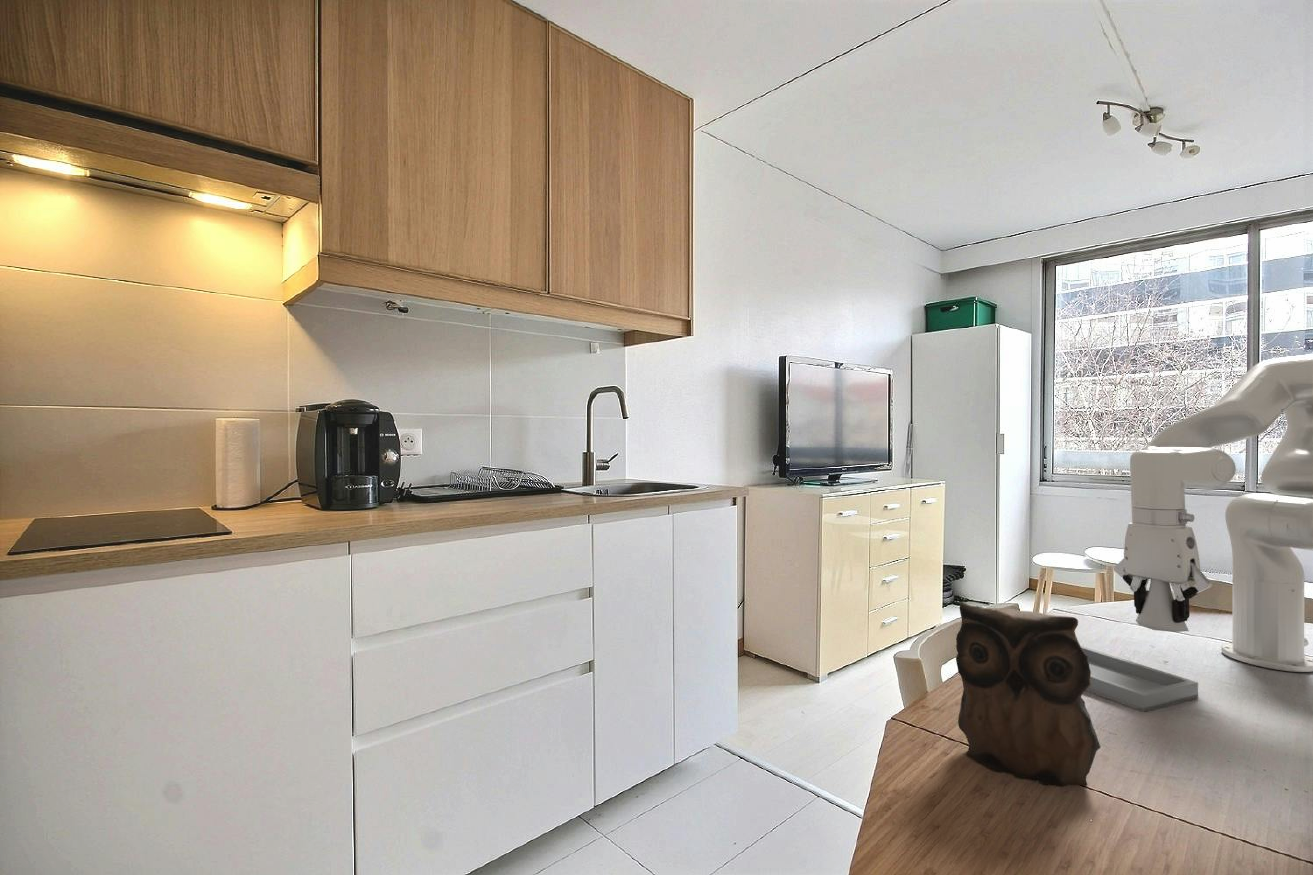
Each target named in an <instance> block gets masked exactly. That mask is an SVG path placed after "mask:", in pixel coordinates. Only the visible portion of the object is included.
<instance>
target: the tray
mask: <svg viewBox="0 0 1313 875" xmlns="http://www.w3.org/2000/svg"><path fill="white" fill-rule="evenodd" d="M1080 646H1081V648H1082V650H1083V652H1084V653H1085V654H1086V655H1087V656H1088V663H1089V667H1090V670H1091V676H1090V683H1091V685H1090V686H1089V687H1088V688H1087V689H1086V690H1085V691H1087V692H1089V693H1093V694H1095V695H1097V696H1101V697H1103V698H1106V699H1108V700H1110V701H1111V700H1112V701H1114V702H1116V703H1119V704H1122V705H1124V706H1126V707H1130V708H1133V709H1135V710H1138V711H1140V712H1143V713H1146V712H1150V711H1153V710H1157V709H1161V708H1165V707H1169V706H1173V705H1176V704H1177V705H1178V704H1179V703H1183V702H1187V701H1192V700H1196V699H1198V698H1199V682H1198V681H1194V680H1191V679H1189V678H1185V677H1182V676H1178V675H1176V674H1173V673H1172V674H1171V673H1170V672H1166V671H1163V670H1159V669H1156V668H1153V667H1149V666H1147V665H1144V664H1140V663H1137V662H1133V661H1130V660H1127V659H1124V658H1121V657H1117V656H1115V655H1111V654H1108V653H1105V652H1101V651H1098V650H1095V649H1092V648H1090V647H1089V648H1088V647H1085V646H1082V645H1080Z"/></svg>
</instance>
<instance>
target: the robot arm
mask: <svg viewBox="0 0 1313 875" xmlns="http://www.w3.org/2000/svg"><path fill="white" fill-rule="evenodd" d="M1283 413H1284V416H1285V419H1286V423H1287V424H1286V425H1287V426H1286V430H1285V431H1284V432H1285V433H1284V434H1283V436H1282V438H1281V439H1280V441H1279V443H1278V445H1277V446H1276V447H1275V449H1274V451H1273V452H1272V454H1271V456H1270V457H1269V459H1268V460H1267V462H1266V464H1265V465H1264V468H1263V470H1262V473H1261V476H1260V481H1261V485H1262V486H1263V488H1264V489H1265V490H1266V491H1267V492H1270V493H1263V492H1260V493H1259V492H1258V493H1256V492H1255V493H1253V492H1252V493H1245V494H1241V495H1239V496H1237V497H1235V498H1233V499H1232V500H1231V501H1229V503H1228V504H1227V506H1226V509H1225V514H1224V516H1225V523H1226V528H1227V531H1228V534H1229V539H1230V545H1231V554H1232V630H1231V631H1232V633H1231V634H1232V635H1231V636H1232V639H1231V640H1232V642H1230V643H1225V644H1222V645H1221V652H1222V653H1223V654H1224V655H1225V656H1227V657H1229V658H1231V659H1233V660H1236V661H1239V662H1242V663H1245V664H1249V665H1252V666H1256V667H1261V668H1266V669H1271V670H1277V671H1285V672H1292V673H1294V672H1295V673H1312V672H1313V659H1312V658H1310V657H1308V656H1306V655H1305V647H1307V646H1308V645H1309V640H1308V639H1307V638H1305V579H1306V578H1305V570H1304V567H1303V564H1302V563H1301V561H1300V559H1299V558H1298V556H1297V555H1296V553H1295V552H1294V551H1293V550H1292V549H1300V550H1307V551H1313V353H1311V354H1303V355H1295V356H1285V357H1278V358H1277V357H1276V358H1271V359H1265V360H1263V361H1260V362H1258V363H1256V364H1255V365H1254V366H1252V367H1251V368H1250V369H1249V370H1248V371H1246V373H1245V374H1243V376H1242V377H1241V378H1240V379H1239V380H1237V382H1236V383H1235V384H1234V385H1233V386H1232V387H1231V388H1230V389H1229V390H1228V391H1227V392H1226V393H1225V394H1224V395H1223V396H1222V397H1221V398H1220V399H1219V400H1218V401H1217V402H1216V403H1215V404H1214V405H1212V406H1210V407H1208V408H1205V409H1203V410H1200V411H1198V412H1196V413H1194V414H1191V415H1189V416H1188V417H1186V418H1183V419H1181V420H1179V421H1177V422H1174V423H1173V424H1171V425H1169V426H1168V427H1166V428H1164V429H1163V430H1161V431H1160V432H1158V434H1156V436H1154V437H1153V439H1152V440H1151V441H1150V442H1148V443H1147V445H1146V446H1145V447H1143V449H1141V450H1136V451H1133V452H1132V453H1131V455H1130V457H1129V471H1130V474H1129V475H1130V476H1129V477H1130V499H1131V500H1130V501H1131V504H1130V505H1131V522H1128V523H1127V527H1126V532H1125V537H1124V544H1123V558H1122V559H1121V561H1119V562H1118V563H1117V564H1116V565H1115V566H1114V567H1113V571H1114V573H1116V574H1117V575H1119V576H1120V578H1122V579H1123V581H1124V582H1125V583H1126V584H1127V585H1128V586H1129V589H1130V591H1132V592H1133V605H1134V607H1135V613H1136V614H1137V615H1138V614H1140V613H1141V611H1142V607H1143V604H1144V602H1145V599H1146V597H1147V594H1148V592H1149V589H1148V590H1147V586H1148V583H1149V581H1150V580H1151V579H1152V580H1158V581H1163V582H1169V583H1170V587H1171V588H1172V589H1171V590H1172V593H1173V594H1174V597H1175V598H1174V600H1172V615H1173V621H1174V622H1176V623H1180V622H1188V620H1189V618H1190V600H1192V599H1193V598H1194V597H1195V596H1196V595H1198V594H1200V593H1201V592H1203V591H1206V590H1207V589H1210V588H1212V586H1213V584H1212V582H1211V581H1210V580H1209V578H1207V576H1206V575H1205V574H1204V573H1203V572H1202V571H1201V563H1200V561H1201V560H1200V556H1199V549H1198V548H1199V547H1198V544H1197V541H1196V536H1195V533H1194V530H1193V527H1192V526H1186V525H1187V524H1188V523H1189V522H1190V523H1191V522H1192V523H1193V522H1194V521H1195V515H1194V514H1192V513H1189V512H1187V509H1186V497H1185V496H1186V492H1185V490H1186V489H1198V490H1199V489H1200V490H1213V489H1214V490H1215V489H1218V488H1221V487H1223V486H1225V485H1227V484H1228V483H1230V482H1231V481H1232V480H1233V478H1234V477H1235V475H1236V470H1237V468H1236V463H1235V461H1234V459H1233V458H1232V456H1230V455H1229V454H1228V453H1227V452H1224V451H1223V450H1220V449H1217V448H1213V447H1217V446H1221V445H1222V446H1223V445H1228V444H1231V443H1232V444H1233V443H1236V442H1241V441H1244V440H1248V439H1250V438H1254V437H1256V436H1259V435H1261V434H1263V433H1264V432H1266V431H1267V430H1268V429H1269V428H1270V427H1271V426H1272V424H1273V423H1275V421H1276V420H1277V419H1278V418H1279V417H1280V416H1281V415H1282V414H1283ZM1189 582H1195V584H1194V585H1192V586H1190V585H1189Z"/></svg>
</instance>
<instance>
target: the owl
mask: <svg viewBox="0 0 1313 875" xmlns="http://www.w3.org/2000/svg"><path fill="white" fill-rule="evenodd" d="M959 614H960V618H961V626H960V629H959V631H958V632H957V634H956V638H955V640H956V642H955V643H956V645H955V648H956V651H957V654H956V656H955V662H956V666H957V672H958V674H959V676H960V677H961V682H962V687H963V689H962V690H963V691H962V695H961V699H960V708H959V714H958V717H957V718H958V719H957V724H958V727H959V729H960V731H961V732H963V734H964V735H965V737H966V740H967V743H968V749H967V751H966V752H965V754H966V756H967V758H969V759H970V760H973V761H974V762H975V763H977V764H978V765H981V766H982V767H984V768H985V769H986V770H990V771H991V772H995V773H1000V774H1001V773H1002V774H1003V773H1004V774H1010V775H1012V776H1014V778H1016V779H1020V780H1030V781H1034V782H1037V783H1038V784H1040V785H1043V786H1045V787H1046V786H1054V787H1065V786H1083V787H1084V786H1085V787H1086V786H1088V781H1087V776H1088V775H1089V773H1090V770H1091V768H1092V765H1093V763H1094V760H1095V756H1096V754H1097V751H1098V750H1099V749H1101V745H1100V742H1099V738H1098V735H1097V733H1096V729H1095V728H1094V725H1093V722H1092V719H1091V715H1090V714H1089V712H1088V709H1087V707H1086V702H1085V701H1086V700H1084V699H1083V698H1082V696H1083V694H1084V693H1085V692H1086V691H1087V690H1086V689H1087V688H1088V687H1089V686H1090V685H1091V683H1090V676H1091V670H1090V667H1089V663H1088V656H1087V655H1086V654H1085V653H1084V652H1083V650H1082V648H1081V646H1082V645H1081V644H1080V642H1079V640H1078V637H1077V635H1076V629H1077V627H1078V626H1079V620H1078V618H1076V617H1075V616H1074V617H1073V616H1067V615H1066V616H1064V615H1052V614H1046V613H1042V612H1035V611H1030V610H1017V609H1013V608H1008V607H1007V608H1005V607H1004V608H1003V607H1002V608H999V607H997V608H996V607H983V606H979V605H970V604H967V603H966V602H965V601H962V602H960V603H959Z"/></svg>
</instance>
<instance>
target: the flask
mask: <svg viewBox="0 0 1313 875" xmlns="http://www.w3.org/2000/svg"><path fill="white" fill-rule="evenodd" d="M1148 588H1149V589H1148V591H1149V592H1148V594H1147V597H1146V599H1145V602H1144V604H1143V607H1142V611H1141V613H1140V614H1138V613H1137V617H1136V619H1135V621H1136V624H1137V625H1138V626H1140V627H1143V628H1147V629H1150V630H1152V631H1159V632H1169V633H1180V632H1181V633H1182V632H1189V631H1190V630H1189V628H1188V626H1187V623H1186V621H1184V622H1180V623H1176V622H1174V621H1173V615H1172V600H1175V598H1174V595H1173V590H1172V589H1171V588H1172V586H1171V583H1169V582H1163V581H1158V580H1152V579H1150V582H1149V587H1148Z"/></svg>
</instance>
